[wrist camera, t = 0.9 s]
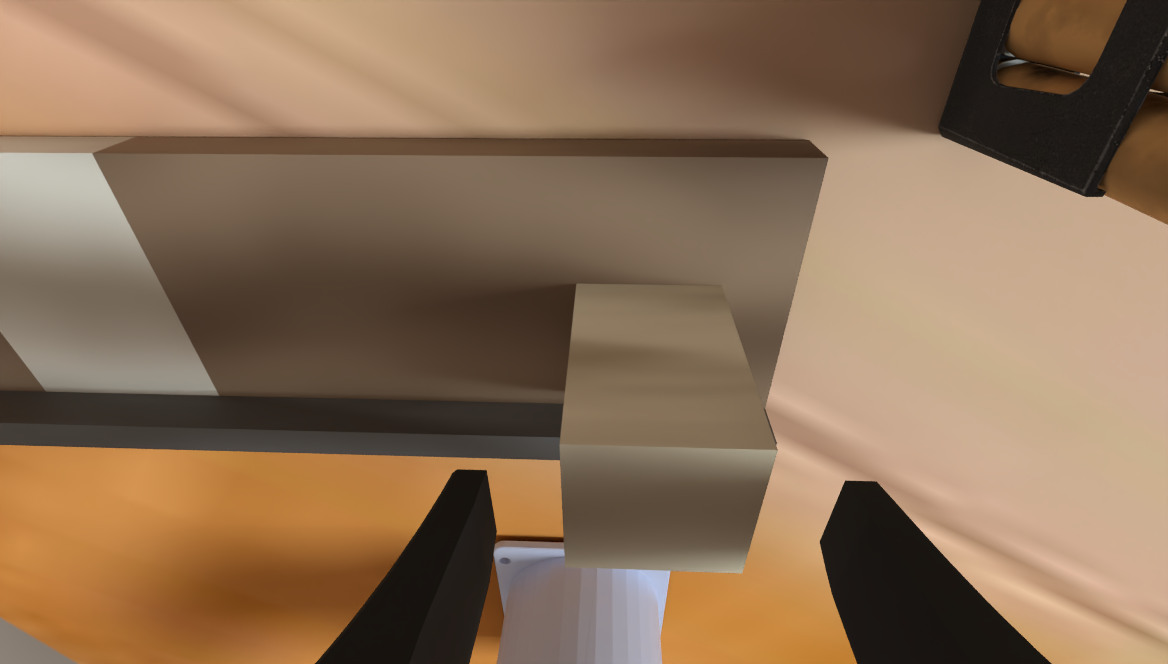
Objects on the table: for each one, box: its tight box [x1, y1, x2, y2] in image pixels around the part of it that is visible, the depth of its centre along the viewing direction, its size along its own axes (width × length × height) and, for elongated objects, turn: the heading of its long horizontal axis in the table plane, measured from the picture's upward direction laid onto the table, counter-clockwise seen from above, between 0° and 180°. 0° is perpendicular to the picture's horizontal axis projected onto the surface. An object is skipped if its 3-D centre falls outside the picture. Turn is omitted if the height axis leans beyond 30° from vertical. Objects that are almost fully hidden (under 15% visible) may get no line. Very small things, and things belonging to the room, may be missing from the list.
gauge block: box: [559, 284, 778, 573], centre depth 13 cm, size 4×4×6 cm
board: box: [0, 136, 828, 460], centre depth 16 cm, size 9×26×3 cm, turn 90°
